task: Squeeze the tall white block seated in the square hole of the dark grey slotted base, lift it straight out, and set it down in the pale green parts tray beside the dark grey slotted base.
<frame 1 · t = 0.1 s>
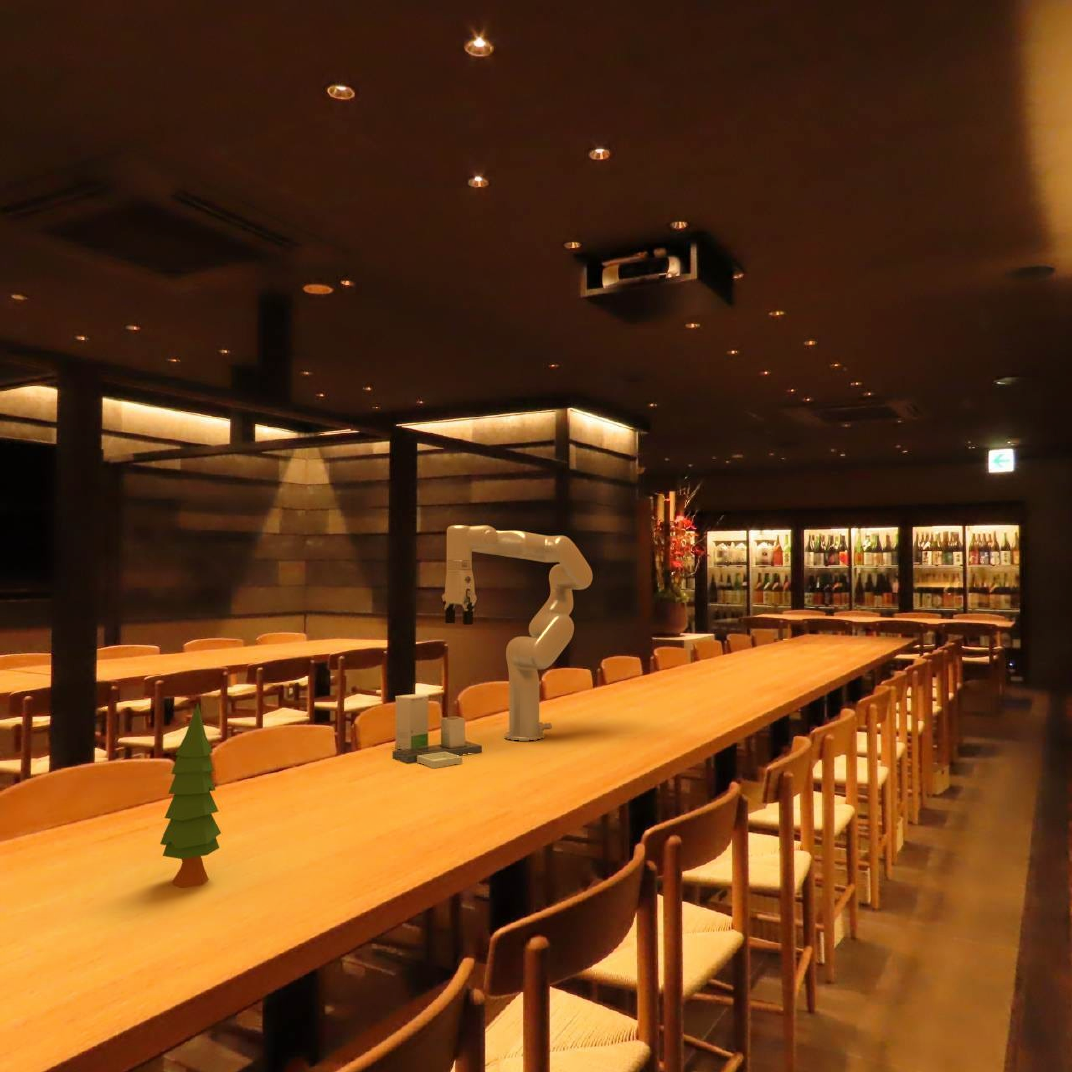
hand: (458, 623, 268), 37 cm above the table, tool pointing down, fingers open, 9 cm apart
dark grey slotted base: (437, 755, 255), on the table
tall white block: (452, 753, 258), resting in dark grey slotted base
decorative tree: (189, 882, 152), on the table
tray: (439, 763, 244), on the table
skincare box: (411, 749, 265), on the table
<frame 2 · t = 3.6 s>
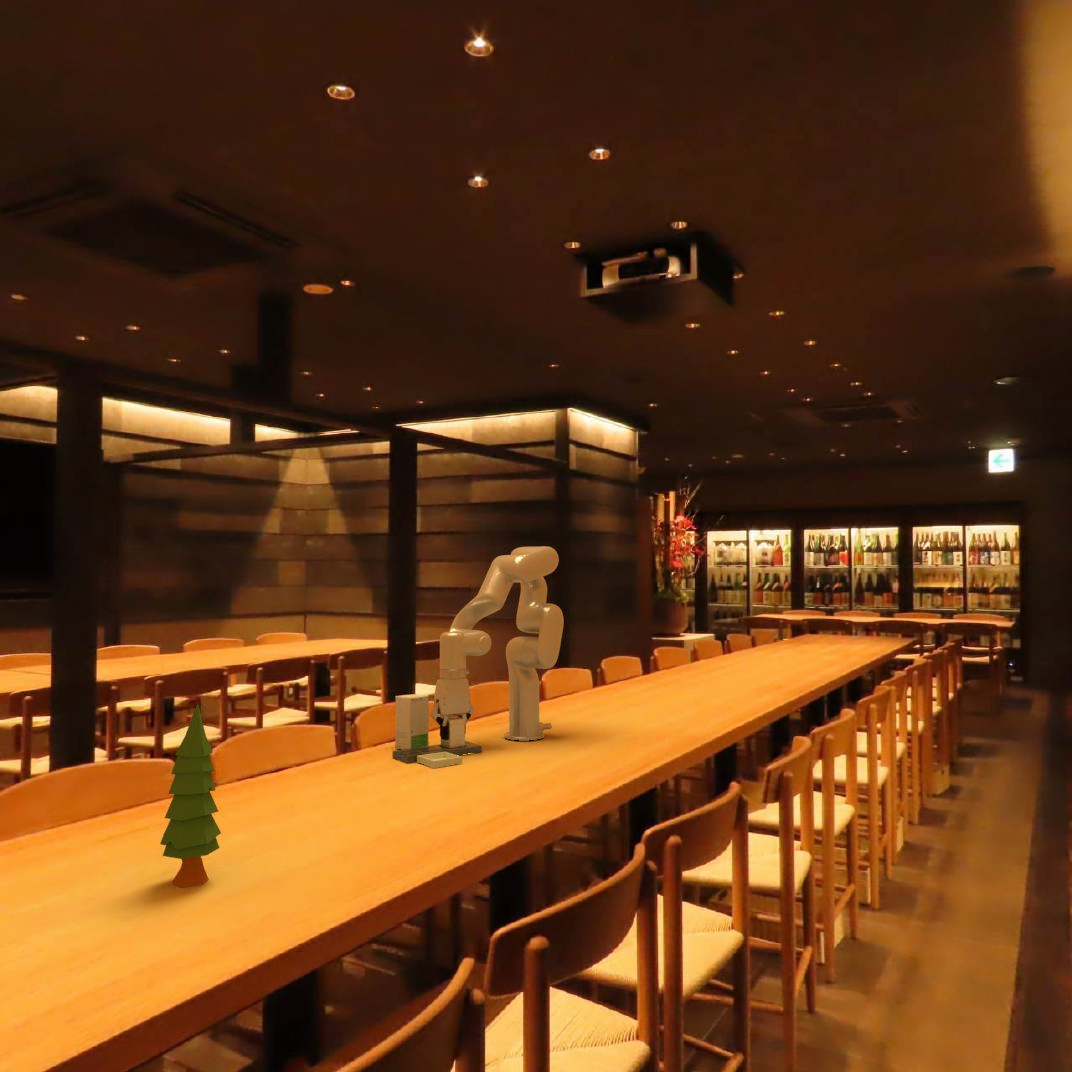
hand: (452, 737, 258), 4 cm above the table, tool pointing down, fingers closed on tall white block, 5 cm apart
tall white block: (452, 753, 257), resting in dark grey slotted base, touching gripper
everything else where it was.
when the fingers open (6 cm above the table, at t = 10.6 s): tall white block drops 1 cm, resting on tray.
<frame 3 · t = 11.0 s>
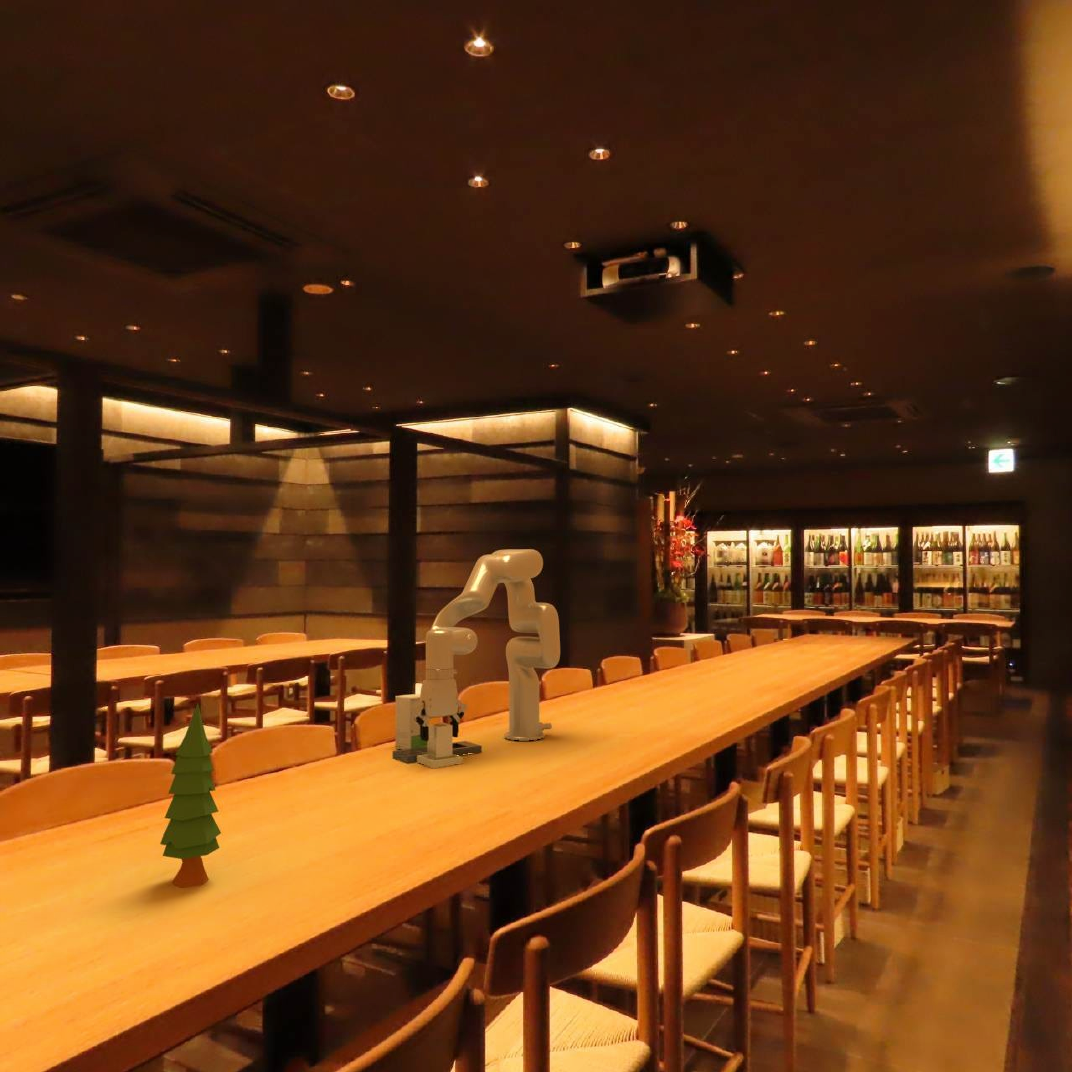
hand: (439, 738, 244), 7 cm above the table, tool pointing down, fingers open, 8 cm apart
tall white block: (439, 761, 244), resting on tray
everything else where it was.
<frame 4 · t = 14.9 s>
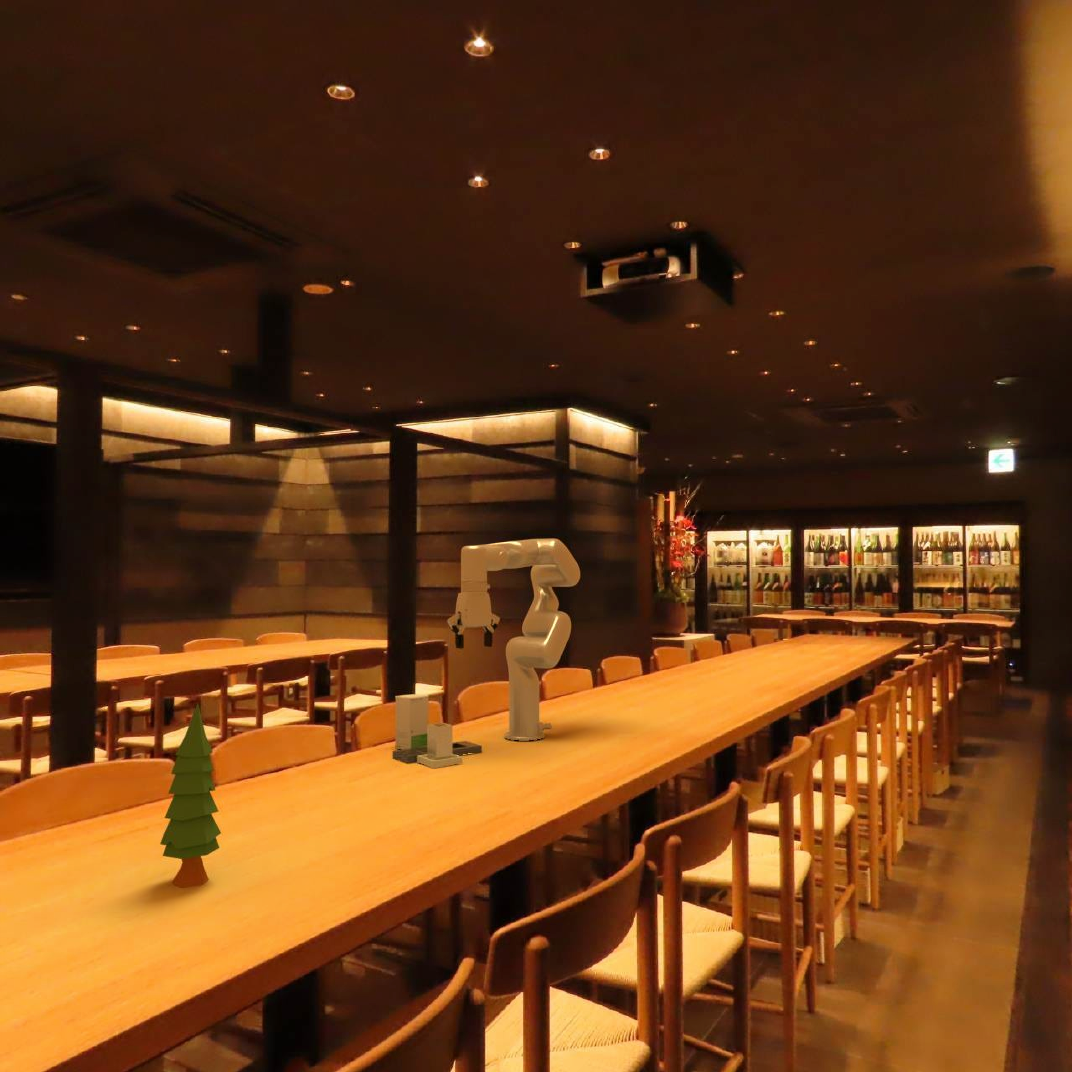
hand: (474, 647, 259), 30 cm above the table, tool pointing down, fingers open, 9 cm apart
nothing on the table moved.
at the end: tall white block 0.1 cm off-centre on the tray, point 0.4 cm above the tray's base; tall white block touching tray; the gripper is holding nothing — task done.
